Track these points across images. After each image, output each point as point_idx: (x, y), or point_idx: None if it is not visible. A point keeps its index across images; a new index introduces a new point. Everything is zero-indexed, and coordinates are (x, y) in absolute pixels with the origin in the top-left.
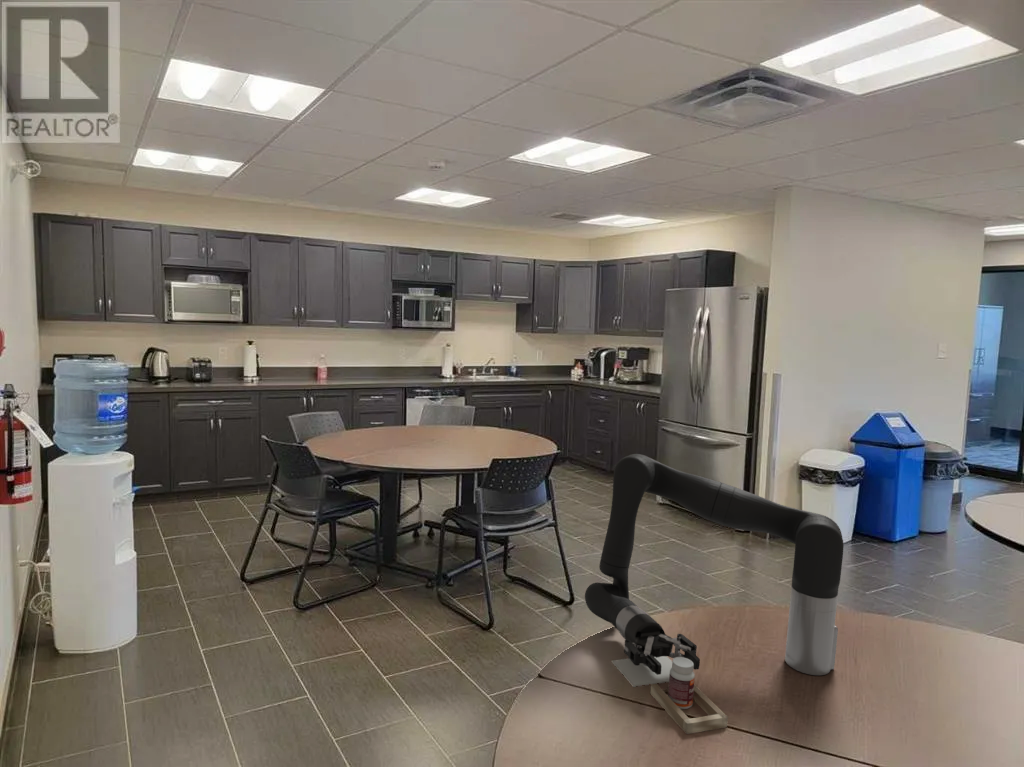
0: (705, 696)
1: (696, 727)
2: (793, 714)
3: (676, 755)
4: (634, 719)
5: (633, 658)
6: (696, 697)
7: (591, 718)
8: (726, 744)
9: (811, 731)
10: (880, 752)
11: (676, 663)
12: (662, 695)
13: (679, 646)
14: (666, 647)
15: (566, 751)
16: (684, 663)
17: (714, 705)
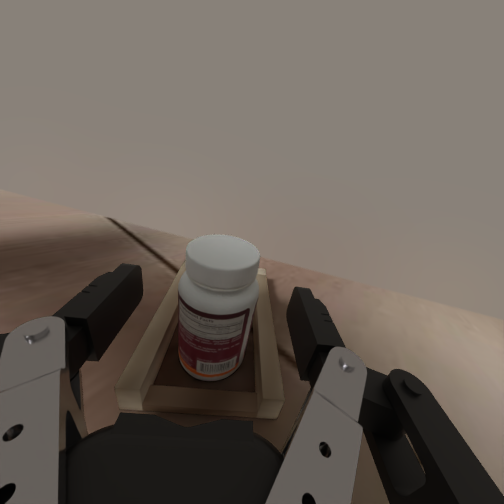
0: (165, 301)
1: None
2: (31, 256)
3: (294, 268)
4: (343, 335)
5: (410, 477)
6: (172, 326)
7: (440, 365)
8: None
9: (75, 237)
10: (60, 209)
11: (253, 251)
12: (272, 336)
13: (63, 367)
14: (155, 417)
15: (447, 312)
16: (225, 245)
17: (178, 278)
